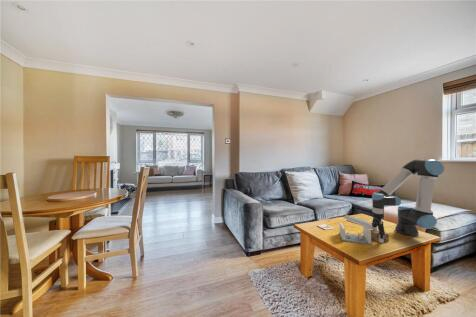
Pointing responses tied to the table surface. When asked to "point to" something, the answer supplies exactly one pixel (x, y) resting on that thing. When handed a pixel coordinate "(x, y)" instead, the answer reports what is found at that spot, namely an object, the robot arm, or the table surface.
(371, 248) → the table surface
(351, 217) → the crown molding
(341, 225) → the peg frame
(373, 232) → the shelf block
